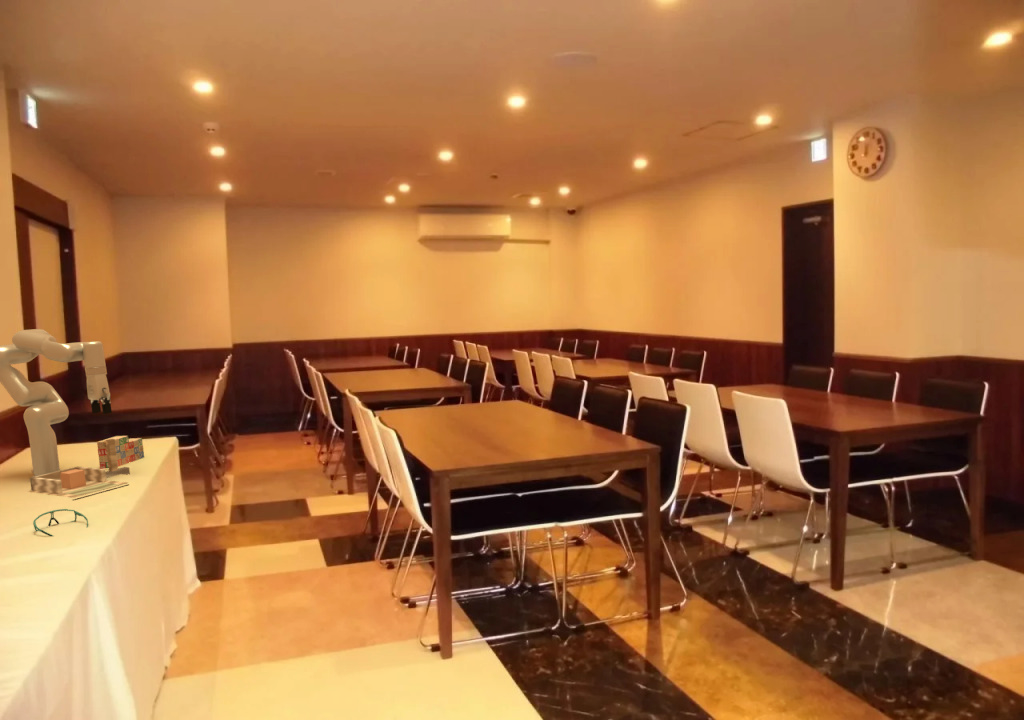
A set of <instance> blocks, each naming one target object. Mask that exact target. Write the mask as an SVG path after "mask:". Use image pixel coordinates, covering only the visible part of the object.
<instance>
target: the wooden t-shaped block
mask: <svg viewBox="0 0 1024 720" xmlns="http://www.w3.org/2000/svg"><path fill="white" fill-rule="evenodd" d="M107 439H108V438H107ZM106 449H107V459H108V468H109V469H108V470H105V473H106V479H107V478H112V477H115V476H116V477H117V476H119V475H122V476H123V475H126V476H129V475H130V473H131V471H130V467H129V466H122V467H119V466H117V457H116V448H115V439H108V440H106ZM128 474H129V475H128Z"/></svg>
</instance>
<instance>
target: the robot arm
mask: <svg viewBox="0 0 1024 720" xmlns="http://www.w3.org/2000/svg"><path fill="white" fill-rule="evenodd" d="M13 334H14V335H13V336H12V337H11V338H12V339H11V343H12V344H11V343H10V344H1V345H0V383H1V384H0V385H2V387H3V388H4V389H5V391H6V392H7V393H8V395H9V396H10V397H11V398H12V400H13V401H14V402H15V403H16V404H17V405H18V406H19V407H27V408H26V409H25V411H24V413H23V420H24V424H25V426H26V429H27V434H28V441H29V447H30V456H31V464H32V465H31V466H32V469H31V471H30V472H31V473H32V474H33V475H32V476H30V478H32V477H36V476H40V475H44V474H48V473H53V472H57V471H61V468H60V460H59V452H58V451H59V449H58V444H57V442H58V441H57V436H56V432H55V431H54V429H53V428H52V426H51V425H55V424H60V423H62V422H64V421H66V420H67V419H68V417H69V415H70V413H69V407H68V405H67V404H66V402H65V401H64V400H63V398H62V397H61V396H60V394H59V393H58V392H57V390H55V388H54V387H53V385H51V384H50V383H48V382H45V381H34V382H32V381H30V380H28V378H26V376H25V374H24V373H22V372H21V371H20V370H19V369H17V368H16V367H14V366H13V365H19V364H25V363H26V364H27V363H29V362H31V361H33V359H35V358H36V357H38V356H39V355H42V356H43V357H44V358H45V359H47V360H50V361H54V362H58V363H59V362H60V363H72V362H80V361H83V364H84V371H85V377H86V390H87V391H86V392H87V399H88V400H90V402H89V403H90V406H91V412H92V414H98V413H99V414H100V413H101V412H102V414H103V415H109V414H112V406H111V405H112V404H111V403H112V402H111V392H110V387H109V381H108V378H107V375H108V372H107V366H106V356H105V350H104V344H103V342H102V341H100V340H97V341H80V342H79V341H78V342H69V343H62V342H61V343H60V342H58V340H57V339H56V337H55V336H53V335H51V334H50V333H49V332H48V331H46V330H45V329H42V328H35V329H32V328H31V329H23V330H19V331H17V332H15V333H13ZM100 401H101V403H102V404H101V403H100ZM30 478H29V479H30Z"/></svg>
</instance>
